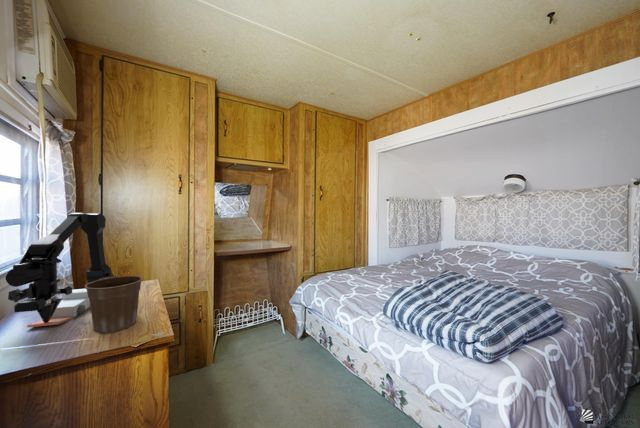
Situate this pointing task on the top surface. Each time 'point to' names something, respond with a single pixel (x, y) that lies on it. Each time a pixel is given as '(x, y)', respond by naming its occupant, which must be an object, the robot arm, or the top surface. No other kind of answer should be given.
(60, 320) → the tailgate
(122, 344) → the top surface
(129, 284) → the plant pot
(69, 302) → the white stepped block
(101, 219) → the robot arm
